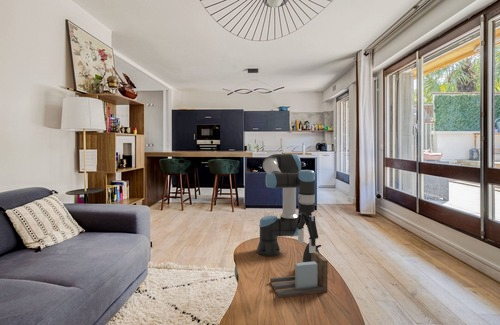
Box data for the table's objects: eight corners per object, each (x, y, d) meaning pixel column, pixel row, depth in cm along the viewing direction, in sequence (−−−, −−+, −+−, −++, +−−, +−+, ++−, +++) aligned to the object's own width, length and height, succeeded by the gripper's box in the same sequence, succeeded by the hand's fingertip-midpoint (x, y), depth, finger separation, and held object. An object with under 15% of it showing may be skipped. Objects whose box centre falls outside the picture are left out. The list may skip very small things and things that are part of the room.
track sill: (270, 282, 134) (270, 253, 134) (314, 278, 139) (314, 249, 138) (278, 297, 120) (278, 265, 120) (327, 291, 125) (327, 260, 125)
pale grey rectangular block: (295, 287, 127) (295, 263, 127) (314, 285, 129) (314, 261, 129) (297, 290, 124) (297, 265, 124) (317, 288, 126) (317, 263, 126)
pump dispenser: (321, 274, 143) (322, 246, 143) (302, 272, 145) (302, 245, 145) (320, 266, 153) (320, 240, 153) (302, 264, 155) (302, 239, 155)
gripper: (289, 198, 137) (289, 239, 138) (310, 209, 113) (309, 258, 114) (303, 198, 138) (303, 238, 139) (326, 208, 114) (326, 256, 115)
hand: (306, 247), depth 127 cm, fingers open, 13 cm apart
